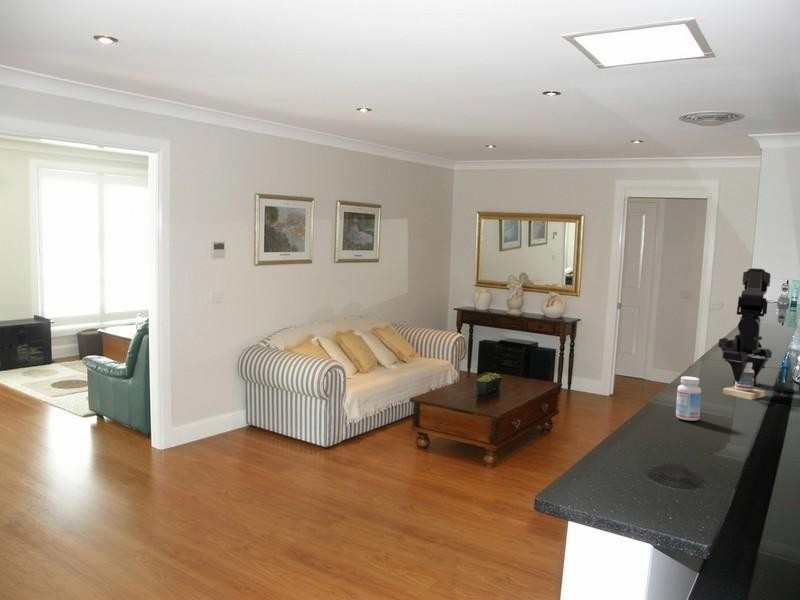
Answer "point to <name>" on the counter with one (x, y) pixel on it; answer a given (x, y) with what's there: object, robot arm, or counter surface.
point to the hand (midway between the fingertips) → (745, 380)
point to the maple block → (744, 393)
